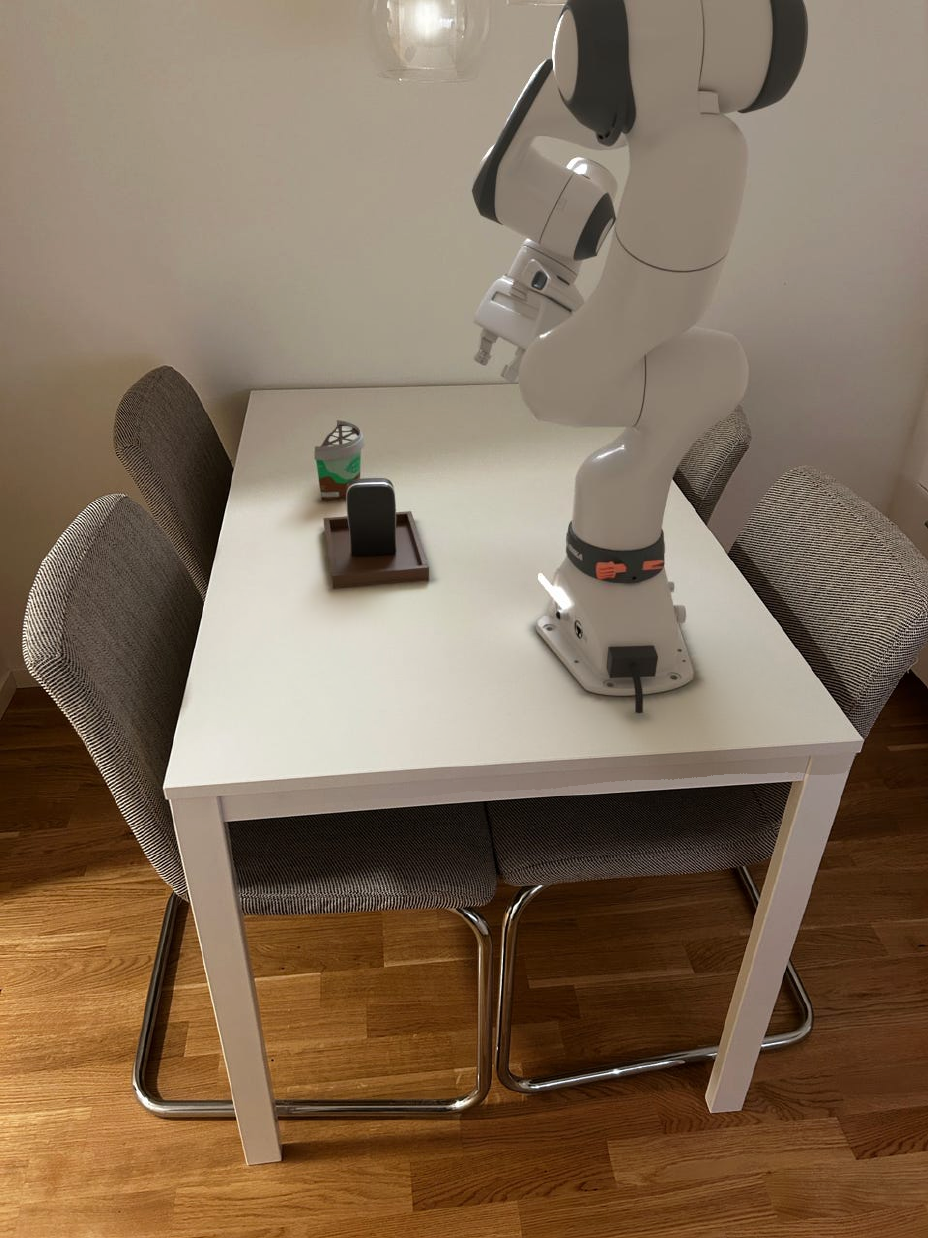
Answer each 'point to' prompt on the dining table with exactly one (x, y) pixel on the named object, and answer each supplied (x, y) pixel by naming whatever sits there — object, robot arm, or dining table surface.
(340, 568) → the tray
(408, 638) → the dining table surface
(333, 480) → the food container
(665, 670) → the robot arm
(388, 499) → the battery charger
